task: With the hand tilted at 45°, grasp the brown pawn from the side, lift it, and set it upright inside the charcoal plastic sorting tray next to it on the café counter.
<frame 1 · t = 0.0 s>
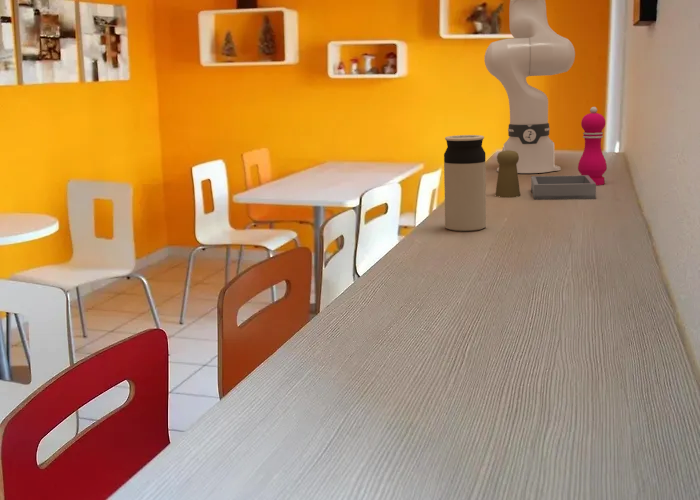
brown pawn: (507, 196, 199), on the counter
travel mug: (465, 229, 161), on the counter
sorting tray: (561, 194, 198), on the counter
pepper mill: (591, 184, 213), on the counter
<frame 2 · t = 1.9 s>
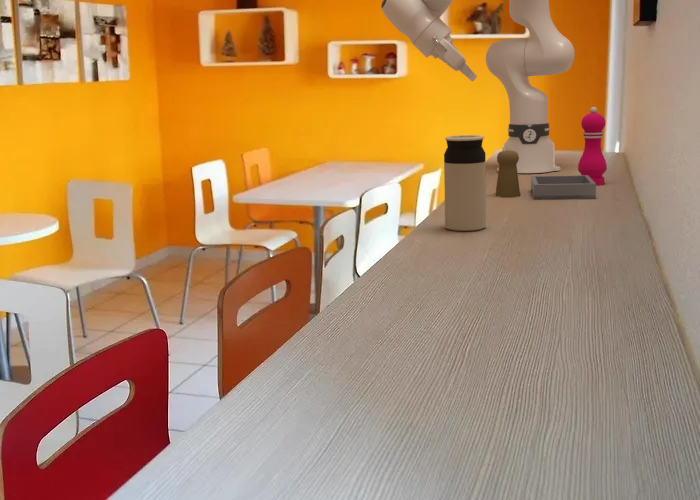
hand: (474, 79, 199), 28 cm above the counter, tool tilted 45°, fingers open, 8 cm apart
nothing on the counter moved.
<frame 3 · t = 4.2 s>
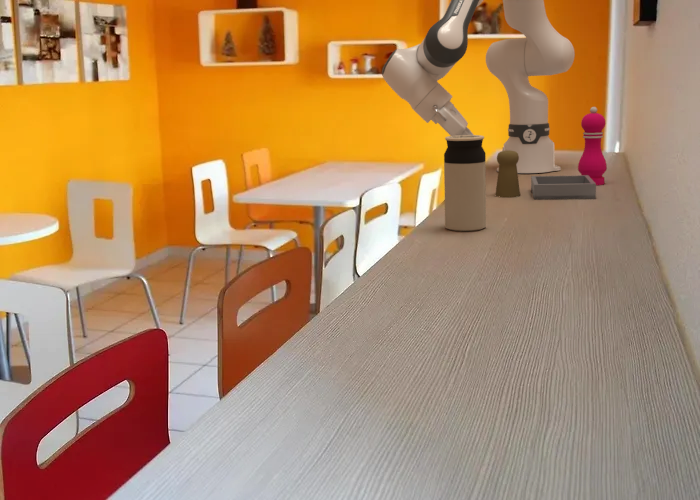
hand: (475, 144, 198), 13 cm above the counter, tool tilted 45°, fingers open, 8 cm apart
nothing on the counter moved.
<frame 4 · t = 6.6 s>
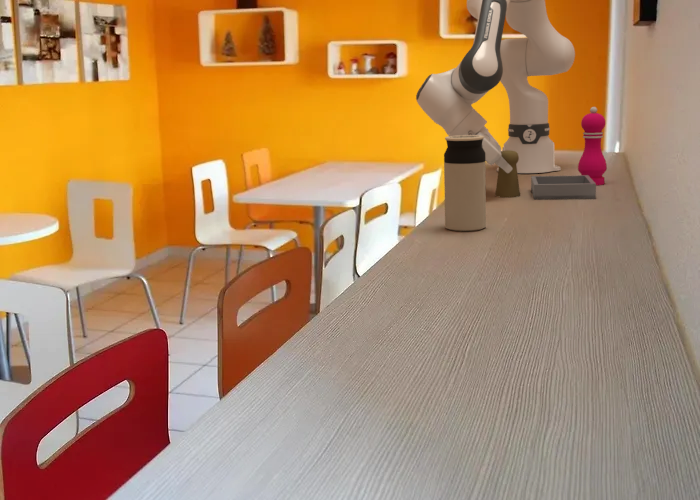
hand: (510, 169, 198), 6 cm above the counter, tool tilted 45°, fingers closed on brown pawn, 5 cm apart
brown pawn: (507, 196, 199), on the counter, touching gripper
everything else where it was.
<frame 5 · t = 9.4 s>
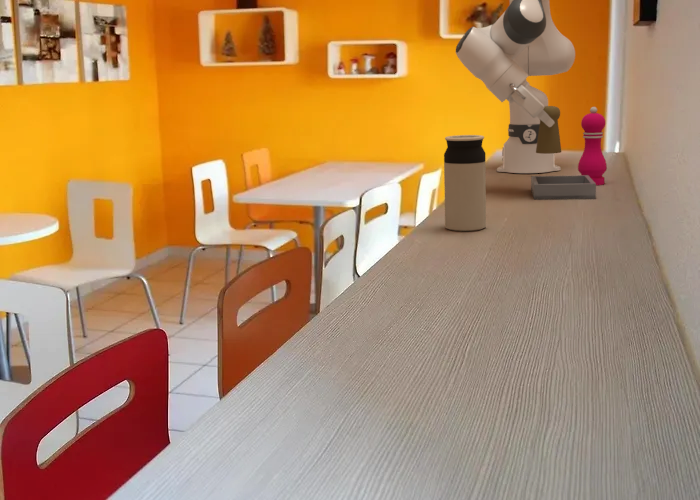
hand: (551, 124, 195), 17 cm above the counter, tool tilted 45°, fingers closed on brown pawn, 5 cm apart
brown pawn: (548, 153, 196), point 10 cm above the counter, touching gripper
everything else where it was.
when the fingers open (8 cm above the counter, at t = 12.4 s): brown pawn stays where it is, resting on sorting tray.
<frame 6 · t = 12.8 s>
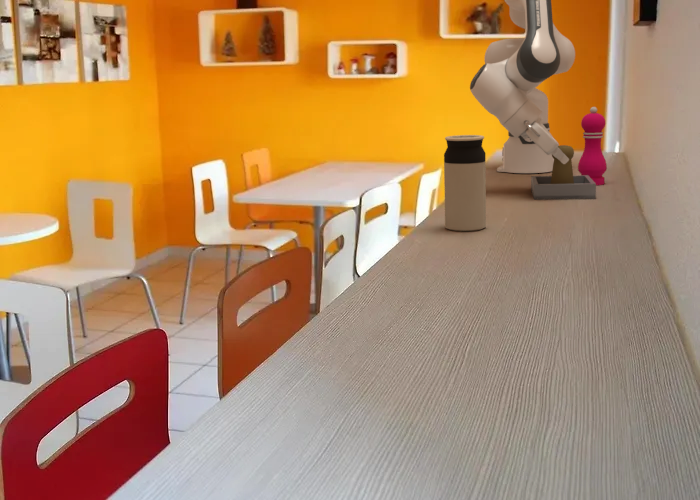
hand: (565, 159, 196), 8 cm above the counter, tool tilted 45°, fingers open, 8 cm apart
brown pawn: (562, 191, 198), point 1 cm above the counter, touching sorting tray
everything else where it was.
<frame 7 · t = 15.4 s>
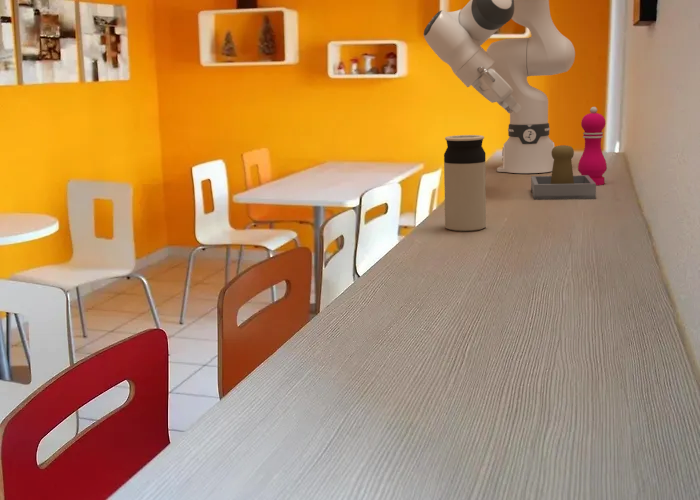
hand: (515, 111, 197), 20 cm above the counter, tool tilted 40°, fingers open, 8 cm apart
nothing on the counter moved.
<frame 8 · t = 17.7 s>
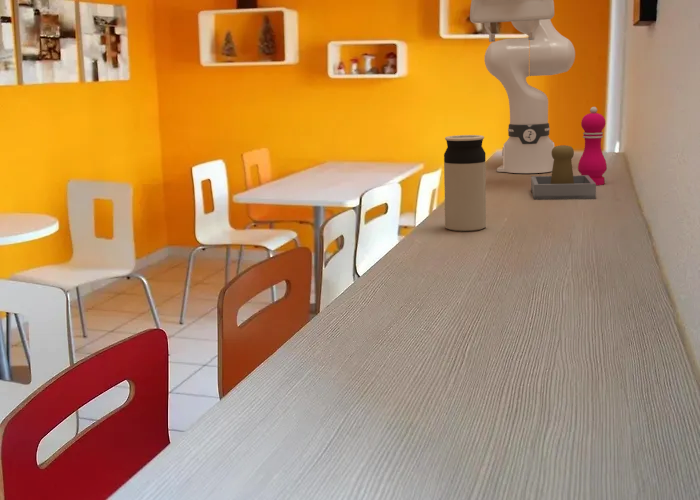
hand: (511, 40, 199), 37 cm above the counter, tool pointing down, fingers open, 8 cm apart
nothing on the counter moved.
at the end: brown pawn inside the target area on the sorting tray (0.0 cm from its centre), point 0.6 cm above the sorting tray's base; brown pawn tilted 0°; the gripper is holding nothing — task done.
